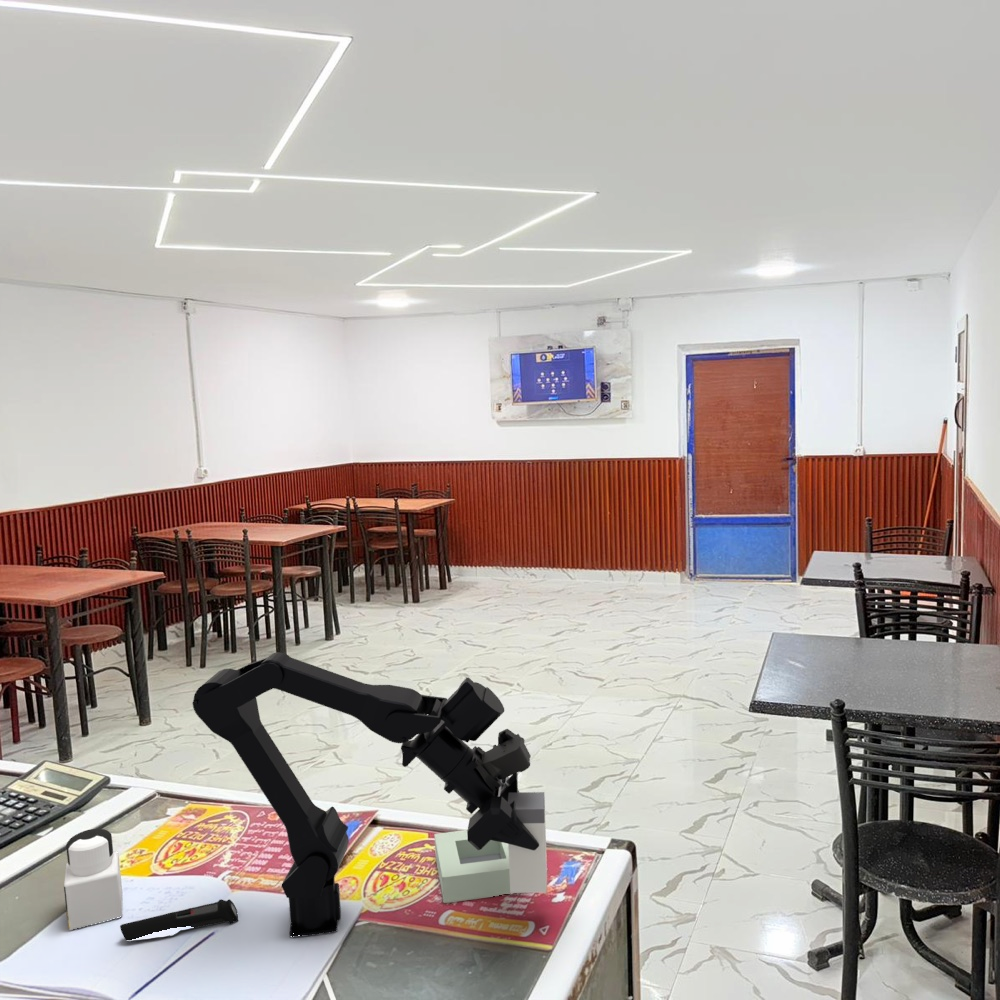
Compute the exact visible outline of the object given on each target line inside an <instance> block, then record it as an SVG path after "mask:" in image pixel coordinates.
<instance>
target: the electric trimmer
mask: <svg viewBox="0 0 1000 1000" xmlns="http://www.w3.org/2000/svg"><path fill="white" fill-rule="evenodd" d="M237 913H238V909H237V907H236V906H235V903H234V902H233V901H232V900H231V899H229V898H228V899H227V900H224V899H219V900H218V901H216V902H211V903H207V904H203V905H199V906H198V905H197V906H194V907H189V908H186V909H182V910H177V911H172V912H169V913H165V914H160V915H156V916H152V917H151V916H150V917H149V918H148V917H147V918H144V919H139V920H135V921H131V922H130V921H129V922H127V923H121V924H120V926H119V929H120V932H121V933H122V937H123V938H124V940H125V941H126V940H132V939H136V938H139V937H142V936H145V935H148V934H152V933H153V932H159V931H162V930H167V929H170V928H177V927H186V926H191V927H194V928H193V929H198V928H201V927H202V928H203V927H207V926H212V925H216V924H221V923H226V922H228V923H229V924H230V925H233V924H234V923H235V922H238V921H239V916H238V915H239V914H237Z"/></svg>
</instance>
